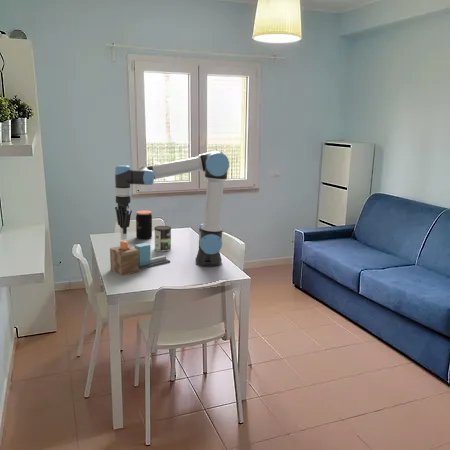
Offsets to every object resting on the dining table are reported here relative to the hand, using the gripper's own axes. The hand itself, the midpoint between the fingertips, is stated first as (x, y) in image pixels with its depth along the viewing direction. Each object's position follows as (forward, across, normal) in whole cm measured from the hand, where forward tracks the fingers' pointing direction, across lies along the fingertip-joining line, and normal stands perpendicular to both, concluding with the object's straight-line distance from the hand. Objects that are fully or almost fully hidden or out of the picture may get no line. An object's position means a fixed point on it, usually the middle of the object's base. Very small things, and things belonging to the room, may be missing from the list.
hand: (123, 239), depth 237 cm
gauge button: (+7, 0, 0) cm, 7 cm away
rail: (+17, 0, -17) cm, 24 cm away
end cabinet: (+17, 0, 0) cm, 17 cm away
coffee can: (+18, +20, -40) cm, 48 cm away
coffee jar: (+18, +50, -46) cm, 70 cm away
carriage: (+16, 0, -12) cm, 20 cm away
